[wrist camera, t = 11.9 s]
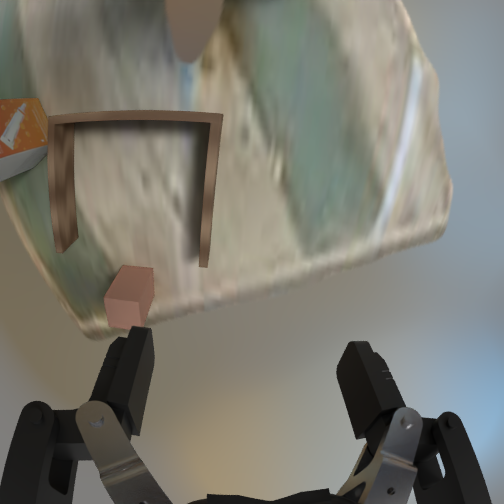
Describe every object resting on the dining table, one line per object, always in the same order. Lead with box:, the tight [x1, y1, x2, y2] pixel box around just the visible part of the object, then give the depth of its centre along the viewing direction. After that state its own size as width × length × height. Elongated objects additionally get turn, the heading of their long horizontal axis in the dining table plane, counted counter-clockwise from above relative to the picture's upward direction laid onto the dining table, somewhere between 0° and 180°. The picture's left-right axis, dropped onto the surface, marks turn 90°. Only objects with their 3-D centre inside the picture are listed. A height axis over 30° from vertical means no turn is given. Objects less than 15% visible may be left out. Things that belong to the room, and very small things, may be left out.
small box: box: [0, 98, 48, 182], centre depth 22 cm, size 8×6×13 cm
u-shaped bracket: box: [48, 110, 223, 268], centre depth 31 cm, size 17×20×5 cm
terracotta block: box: [104, 265, 154, 330], centre depth 36 cm, size 4×4×8 cm
